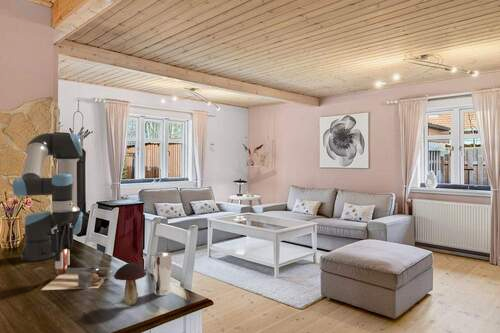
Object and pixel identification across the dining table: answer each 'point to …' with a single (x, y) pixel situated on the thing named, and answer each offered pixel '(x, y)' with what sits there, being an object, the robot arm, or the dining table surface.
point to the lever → (101, 271)
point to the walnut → (94, 277)
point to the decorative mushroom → (130, 280)
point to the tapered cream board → (74, 281)
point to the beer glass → (162, 273)
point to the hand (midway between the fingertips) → (62, 266)
